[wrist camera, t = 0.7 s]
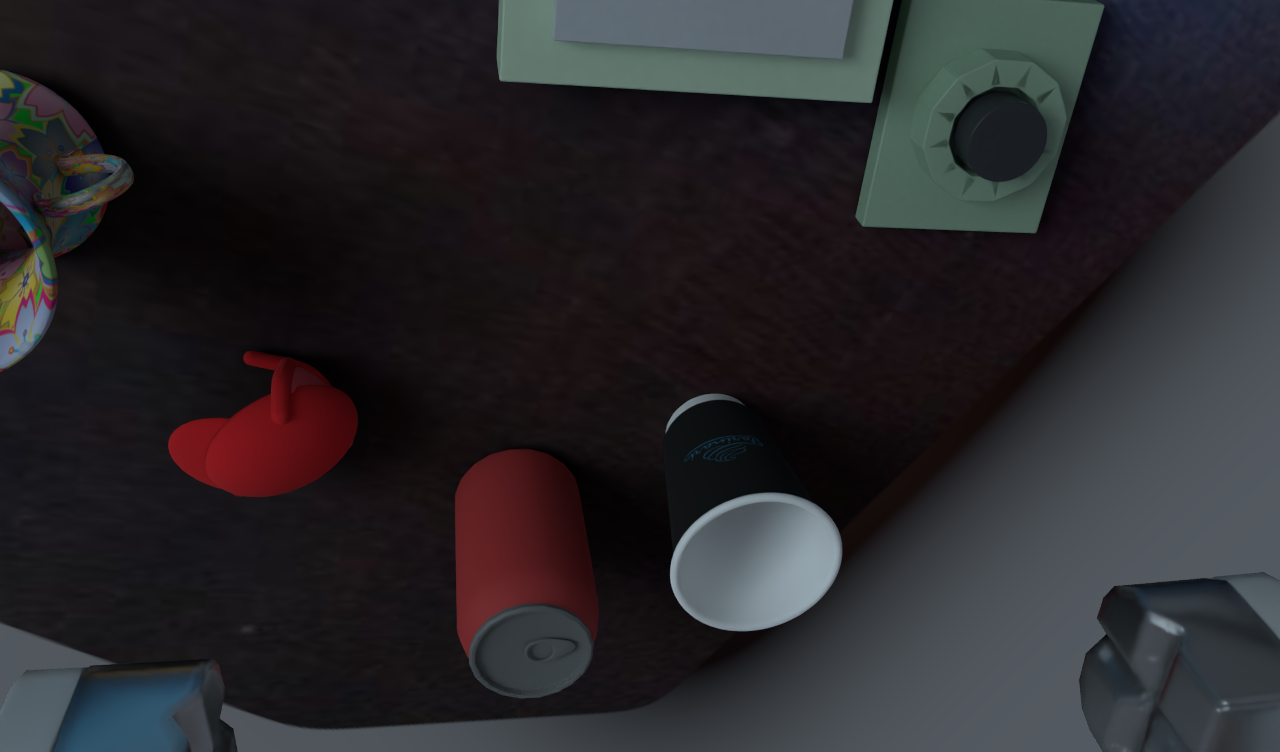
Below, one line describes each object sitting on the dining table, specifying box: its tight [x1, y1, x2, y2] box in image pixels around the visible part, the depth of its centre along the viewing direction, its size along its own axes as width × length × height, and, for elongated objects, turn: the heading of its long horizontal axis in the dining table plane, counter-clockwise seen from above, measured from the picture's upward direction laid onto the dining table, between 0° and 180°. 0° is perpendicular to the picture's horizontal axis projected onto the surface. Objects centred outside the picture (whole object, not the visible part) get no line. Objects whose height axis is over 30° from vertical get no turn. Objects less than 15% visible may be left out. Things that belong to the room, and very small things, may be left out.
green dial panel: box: [856, 0, 1104, 233], centre depth 52 cm, size 11×9×3 cm
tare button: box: [954, 91, 1047, 182], centre depth 51 cm, size 4×4×2 cm
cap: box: [169, 351, 358, 497], centre depth 53 cm, size 8×6×6 cm
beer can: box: [455, 449, 599, 698], centre depth 56 cm, size 7×7×12 cm
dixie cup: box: [663, 394, 842, 631], centre depth 56 cm, size 8×8×11 cm
